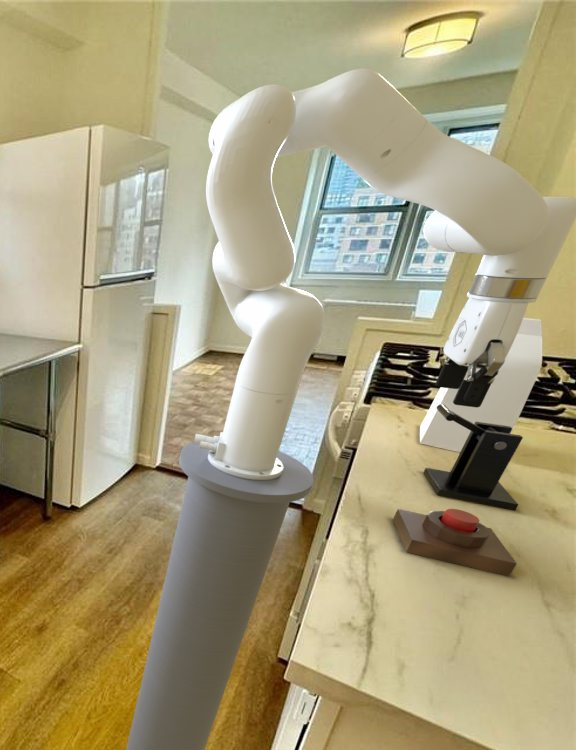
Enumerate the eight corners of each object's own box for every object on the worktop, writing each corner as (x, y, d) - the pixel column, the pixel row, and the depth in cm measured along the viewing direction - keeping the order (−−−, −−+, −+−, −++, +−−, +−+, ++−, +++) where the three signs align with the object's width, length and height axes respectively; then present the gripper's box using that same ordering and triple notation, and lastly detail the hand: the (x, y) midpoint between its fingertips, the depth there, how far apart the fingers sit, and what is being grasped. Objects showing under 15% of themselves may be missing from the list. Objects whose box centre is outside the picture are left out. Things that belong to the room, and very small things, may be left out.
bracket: (436, 495, 83) (468, 433, 78) (422, 473, 90) (450, 414, 85) (515, 510, 79) (553, 445, 74) (494, 485, 86) (527, 425, 81)
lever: (440, 421, 80) (454, 410, 79) (431, 410, 85) (444, 399, 83) (501, 455, 78) (516, 444, 77) (488, 442, 83) (502, 432, 81)
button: (444, 528, 68) (449, 518, 67) (436, 516, 71) (442, 506, 70) (478, 536, 67) (483, 525, 66) (468, 522, 69) (474, 512, 69)
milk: (419, 443, 102) (477, 318, 90) (420, 426, 110) (472, 309, 98) (498, 460, 95) (571, 327, 83) (492, 441, 103) (559, 317, 91)
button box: (406, 552, 69) (417, 529, 67) (392, 520, 76) (402, 498, 74) (509, 576, 64) (524, 552, 63) (484, 540, 72) (497, 518, 70)
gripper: (453, 281, 81) (413, 378, 89) (493, 295, 67) (442, 409, 75) (514, 283, 78) (467, 384, 85) (568, 299, 64) (507, 417, 72)
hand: (455, 396), depth 80 cm, fingers open, 9 cm apart
